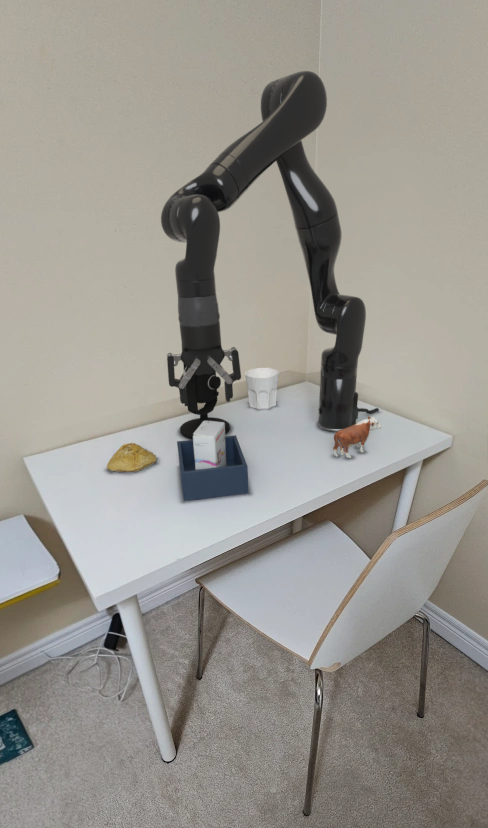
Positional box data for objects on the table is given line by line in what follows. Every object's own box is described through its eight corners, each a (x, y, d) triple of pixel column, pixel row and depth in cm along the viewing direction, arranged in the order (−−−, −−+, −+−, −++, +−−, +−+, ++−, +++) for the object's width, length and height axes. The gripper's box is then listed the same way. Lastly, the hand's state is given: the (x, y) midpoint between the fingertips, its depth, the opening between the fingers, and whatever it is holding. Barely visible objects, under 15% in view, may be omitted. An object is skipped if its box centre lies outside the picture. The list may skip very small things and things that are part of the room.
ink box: (218, 487, 101) (214, 436, 96) (196, 485, 102) (190, 435, 96) (228, 468, 109) (224, 420, 103) (206, 467, 110) (202, 419, 104)
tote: (237, 460, 113) (236, 435, 110) (248, 493, 100) (247, 465, 97) (180, 466, 112) (176, 441, 108) (183, 501, 98) (180, 473, 95)
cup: (285, 403, 145) (285, 371, 140) (263, 413, 139) (263, 380, 134) (261, 396, 151) (260, 365, 146) (239, 405, 145) (237, 373, 140)
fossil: (122, 452, 105) (100, 440, 111) (121, 478, 107) (99, 465, 113) (164, 448, 113) (141, 437, 119) (162, 472, 115) (139, 460, 121)
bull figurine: (381, 448, 116) (385, 417, 112) (338, 463, 110) (340, 430, 106) (369, 442, 119) (372, 412, 115) (326, 456, 114) (328, 424, 110)
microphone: (210, 444, 122) (202, 345, 109) (169, 434, 128) (157, 339, 116) (239, 425, 132) (235, 333, 119) (200, 417, 138) (192, 328, 125)
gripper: (234, 313, 93) (238, 393, 101) (160, 319, 91) (171, 400, 99) (240, 321, 87) (244, 405, 95) (161, 327, 85) (172, 413, 93)
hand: (207, 402), depth 97 cm, fingers open, 8 cm apart
